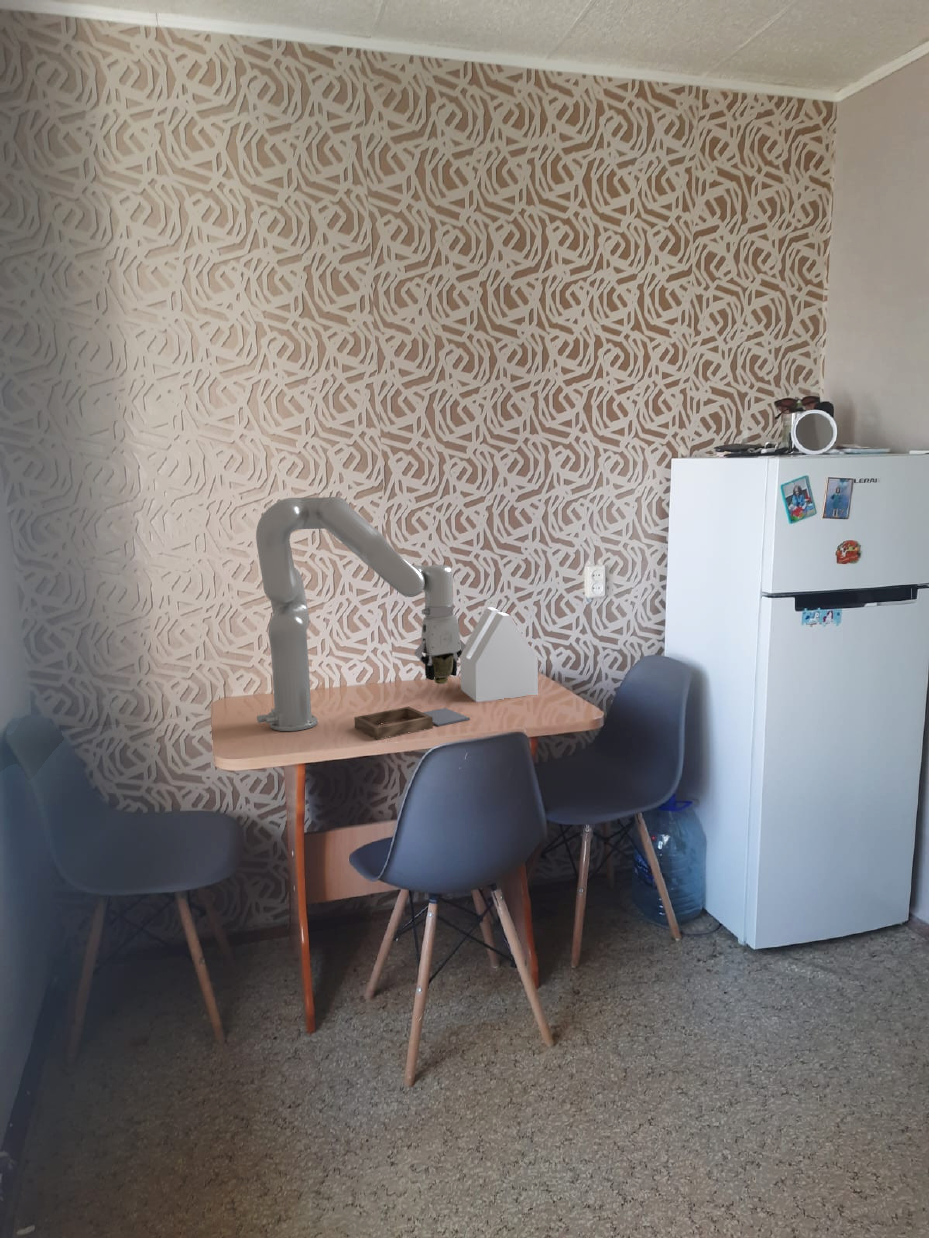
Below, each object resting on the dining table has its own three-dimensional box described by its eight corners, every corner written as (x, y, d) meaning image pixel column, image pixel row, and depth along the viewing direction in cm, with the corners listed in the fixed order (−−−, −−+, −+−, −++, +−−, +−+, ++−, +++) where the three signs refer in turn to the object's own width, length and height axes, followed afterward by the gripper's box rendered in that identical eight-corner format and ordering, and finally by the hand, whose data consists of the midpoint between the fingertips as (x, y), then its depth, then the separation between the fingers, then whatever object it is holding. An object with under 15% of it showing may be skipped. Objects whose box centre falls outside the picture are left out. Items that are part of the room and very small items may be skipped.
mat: (438, 726, 222) (438, 724, 222) (414, 716, 232) (414, 714, 232) (469, 719, 228) (469, 717, 228) (445, 709, 237) (445, 707, 237)
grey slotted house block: (476, 702, 245) (475, 617, 240) (460, 689, 259) (459, 609, 255) (537, 696, 250) (537, 613, 246) (519, 683, 265) (518, 605, 261)
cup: (430, 687, 224) (429, 658, 222) (424, 680, 231) (423, 652, 229) (457, 684, 226) (457, 655, 224) (450, 677, 232) (449, 649, 231)
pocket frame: (377, 740, 212) (376, 728, 211) (355, 728, 222) (354, 717, 222) (432, 728, 221) (432, 717, 220) (408, 717, 231) (408, 706, 231)
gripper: (418, 617, 217) (421, 685, 220) (474, 609, 226) (475, 674, 229) (404, 613, 223) (406, 679, 226) (458, 606, 232) (460, 669, 236)
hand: (441, 676), depth 228 cm, fingers closed on cup, 6 cm apart
